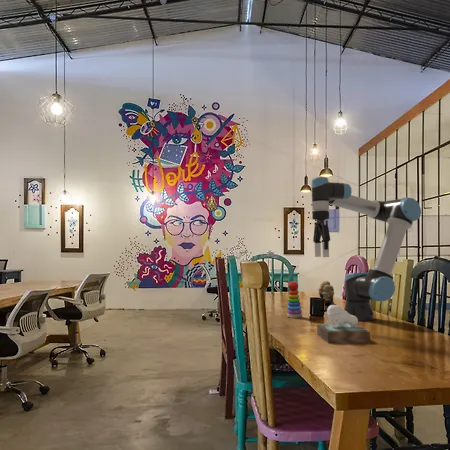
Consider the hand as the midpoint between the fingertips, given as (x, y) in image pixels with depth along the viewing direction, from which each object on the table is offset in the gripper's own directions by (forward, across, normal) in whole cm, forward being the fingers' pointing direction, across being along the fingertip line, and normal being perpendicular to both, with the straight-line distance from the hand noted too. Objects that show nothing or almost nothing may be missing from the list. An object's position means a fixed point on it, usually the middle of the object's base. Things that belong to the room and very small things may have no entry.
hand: (321, 257), depth 189 cm
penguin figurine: (+28, +24, +1) cm, 37 cm away
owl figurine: (+32, -54, +18) cm, 65 cm away
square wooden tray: (+32, +24, +1) cm, 40 cm away
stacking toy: (+32, -30, -7) cm, 44 cm away
